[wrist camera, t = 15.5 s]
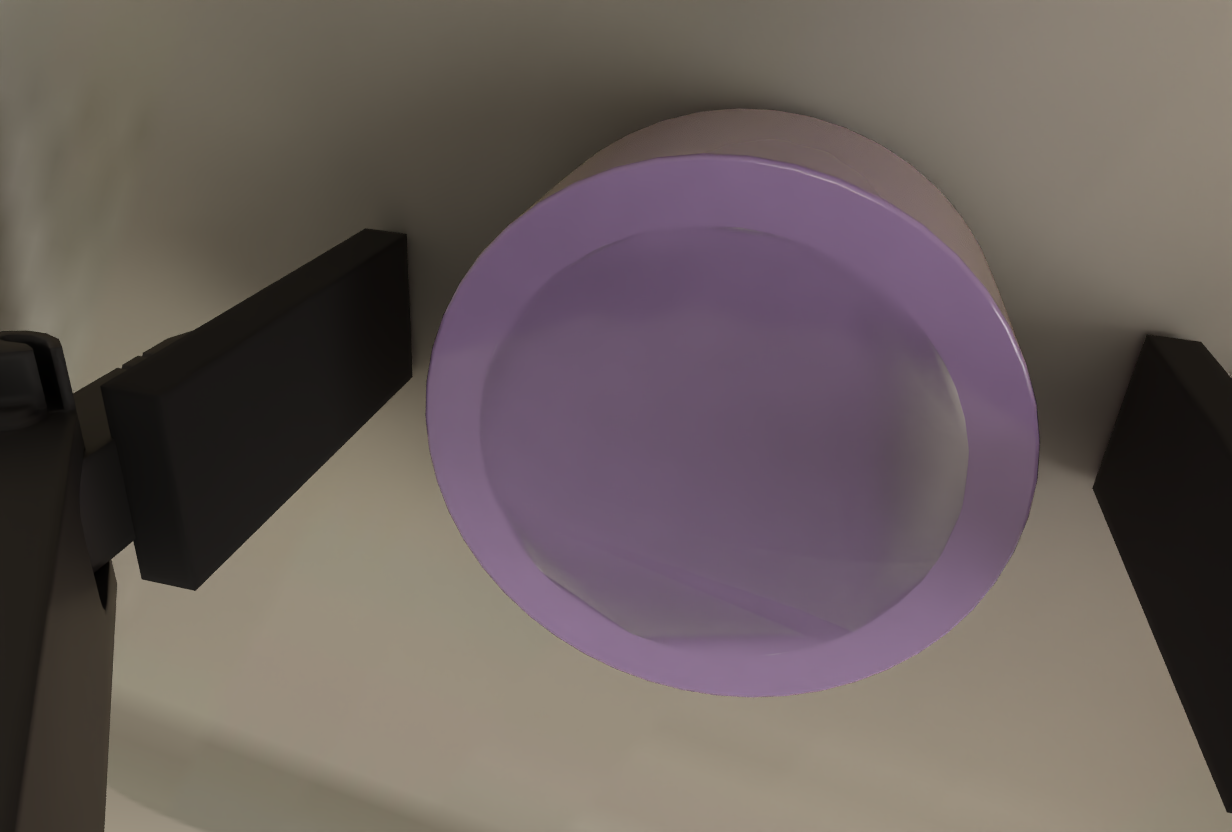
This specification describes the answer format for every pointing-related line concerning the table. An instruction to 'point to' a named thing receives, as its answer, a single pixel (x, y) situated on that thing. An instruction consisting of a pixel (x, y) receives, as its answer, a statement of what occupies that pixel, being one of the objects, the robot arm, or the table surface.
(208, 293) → the table surface
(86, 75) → the table surface
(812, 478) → the dish
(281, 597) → the table surface
